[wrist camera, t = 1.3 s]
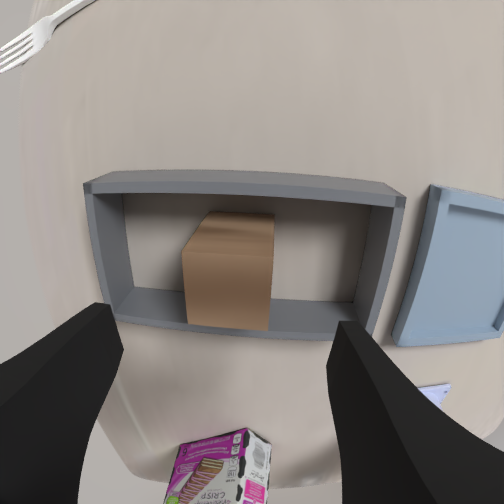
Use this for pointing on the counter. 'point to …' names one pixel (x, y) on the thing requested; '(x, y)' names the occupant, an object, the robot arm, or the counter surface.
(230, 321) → the walnut block
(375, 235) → the gray rectangular bin
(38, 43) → the fork
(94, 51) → the counter surface
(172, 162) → the counter surface
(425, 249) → the light blue tray
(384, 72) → the counter surface
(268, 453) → the candy bar box
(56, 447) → the robot arm
